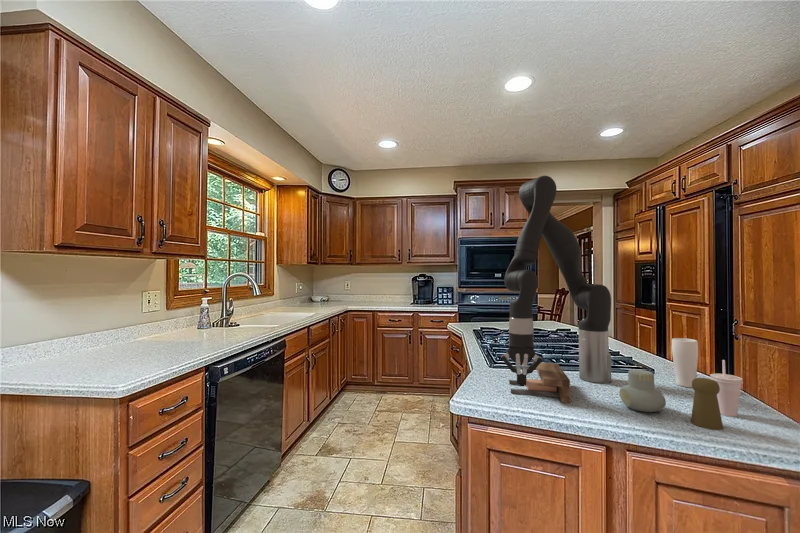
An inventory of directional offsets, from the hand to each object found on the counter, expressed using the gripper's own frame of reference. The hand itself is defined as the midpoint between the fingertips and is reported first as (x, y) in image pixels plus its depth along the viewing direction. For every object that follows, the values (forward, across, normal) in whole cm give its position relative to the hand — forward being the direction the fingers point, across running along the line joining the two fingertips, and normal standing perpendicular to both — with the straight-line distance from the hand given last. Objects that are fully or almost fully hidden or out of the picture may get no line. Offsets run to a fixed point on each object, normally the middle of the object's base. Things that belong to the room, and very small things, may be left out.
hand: (521, 385), depth 114 cm
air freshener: (+1, -30, +10) cm, 32 cm away
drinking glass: (+1, -53, -16) cm, 55 cm away
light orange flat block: (+1, -6, 0) cm, 6 cm away
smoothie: (+1, -50, +9) cm, 51 cm away
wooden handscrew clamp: (+1, -6, 0) cm, 6 cm away
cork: (+1, -41, +18) cm, 45 cm away
